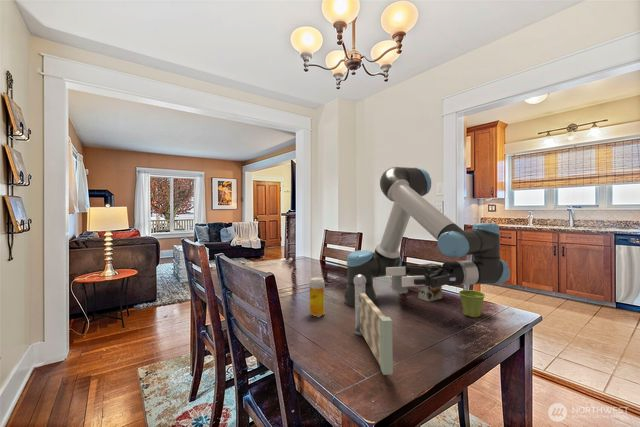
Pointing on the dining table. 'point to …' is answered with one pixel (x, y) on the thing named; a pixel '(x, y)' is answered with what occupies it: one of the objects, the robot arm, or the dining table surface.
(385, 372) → the gate panel
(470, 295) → the plant pot
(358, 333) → the gate post
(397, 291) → the glass holder
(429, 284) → the robot arm
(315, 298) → the orange and white cylinder
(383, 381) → the dining table surface
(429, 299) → the coffee box
